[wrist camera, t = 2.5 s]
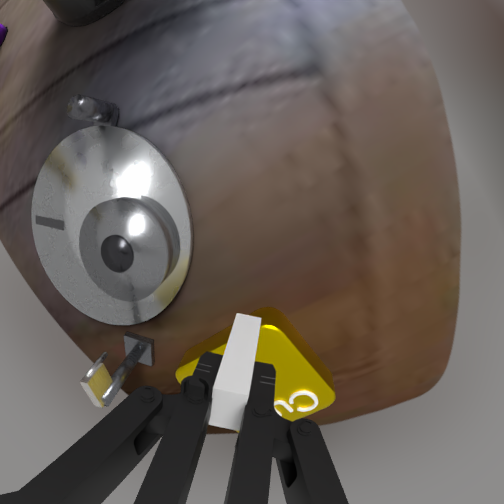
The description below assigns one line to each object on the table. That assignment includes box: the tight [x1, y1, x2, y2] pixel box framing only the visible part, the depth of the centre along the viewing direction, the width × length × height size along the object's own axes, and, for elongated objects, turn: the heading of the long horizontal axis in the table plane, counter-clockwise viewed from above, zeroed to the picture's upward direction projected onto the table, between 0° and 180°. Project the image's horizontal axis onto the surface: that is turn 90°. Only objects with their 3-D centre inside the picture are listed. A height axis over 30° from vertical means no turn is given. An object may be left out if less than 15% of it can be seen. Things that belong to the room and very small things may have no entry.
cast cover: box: [79, 194, 180, 301], centre depth 26 cm, size 10×10×4 cm
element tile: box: [176, 307, 336, 433], centre depth 32 cm, size 15×15×5 cm
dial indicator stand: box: [80, 332, 155, 407], centre depth 29 cm, size 5×4×12 cm
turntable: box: [31, 95, 193, 325], centre depth 26 cm, size 27×24×6 cm
